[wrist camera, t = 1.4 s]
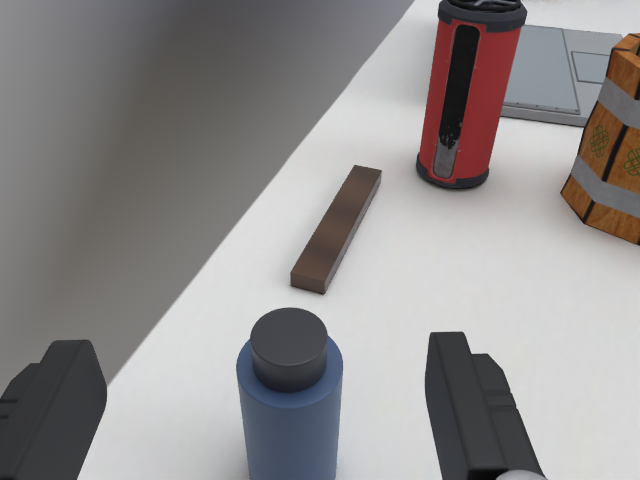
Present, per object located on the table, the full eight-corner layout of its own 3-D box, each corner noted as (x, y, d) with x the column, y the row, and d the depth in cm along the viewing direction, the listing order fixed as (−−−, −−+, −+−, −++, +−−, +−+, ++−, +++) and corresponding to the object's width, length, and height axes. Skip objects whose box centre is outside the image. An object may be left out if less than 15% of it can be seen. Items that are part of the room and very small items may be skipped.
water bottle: (284, 531, 30) (276, 402, 23) (232, 462, 33) (211, 328, 26) (354, 474, 33) (368, 341, 25) (300, 414, 36) (298, 280, 28)
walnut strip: (324, 294, 45) (324, 281, 44) (290, 285, 45) (289, 272, 44) (380, 182, 58) (382, 169, 57) (353, 176, 59) (354, 164, 58)
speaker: (404, 177, 59) (427, 0, 47) (431, 147, 64) (458, -19, 52) (473, 199, 56) (516, 15, 44) (496, 165, 61) (539, -7, 49)
